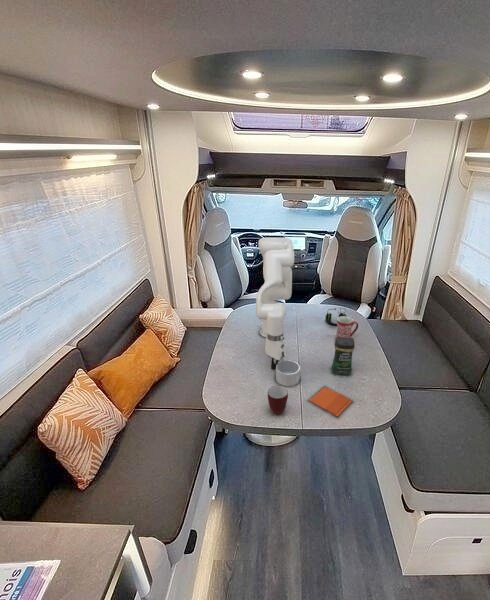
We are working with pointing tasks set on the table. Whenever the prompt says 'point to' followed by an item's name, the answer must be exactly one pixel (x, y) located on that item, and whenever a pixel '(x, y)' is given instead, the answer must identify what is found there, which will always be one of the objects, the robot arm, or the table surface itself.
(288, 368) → the pot
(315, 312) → the table surface
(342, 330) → the mug
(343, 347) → the coffee jar
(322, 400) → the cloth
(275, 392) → the mug
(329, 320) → the headphones
